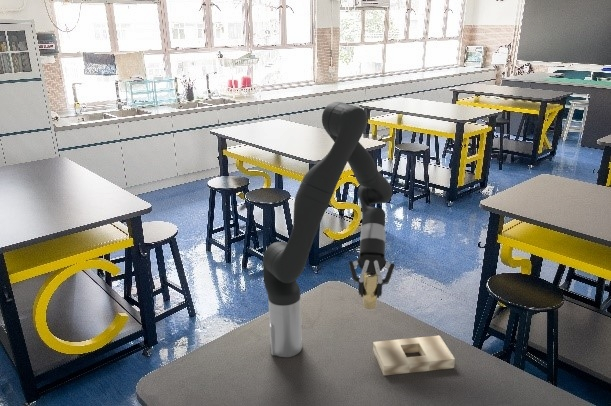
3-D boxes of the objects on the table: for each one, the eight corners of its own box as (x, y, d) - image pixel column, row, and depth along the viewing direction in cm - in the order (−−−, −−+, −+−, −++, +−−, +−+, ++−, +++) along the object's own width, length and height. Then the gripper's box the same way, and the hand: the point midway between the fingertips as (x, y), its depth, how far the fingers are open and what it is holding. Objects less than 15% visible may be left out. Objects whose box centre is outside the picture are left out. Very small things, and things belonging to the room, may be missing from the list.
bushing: (364, 309, 142) (365, 279, 138) (361, 302, 145) (362, 272, 142) (378, 308, 142) (379, 277, 139) (374, 301, 146) (375, 271, 142)
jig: (383, 375, 132) (384, 366, 131) (373, 350, 143) (373, 341, 142) (454, 367, 135) (454, 358, 134) (438, 343, 145) (439, 335, 144)
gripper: (348, 235, 145) (344, 292, 138) (396, 237, 143) (395, 295, 136) (349, 244, 152) (346, 298, 145) (396, 246, 150) (394, 301, 143)
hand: (370, 296), depth 141 cm, fingers closed on bushing, 4 cm apart
